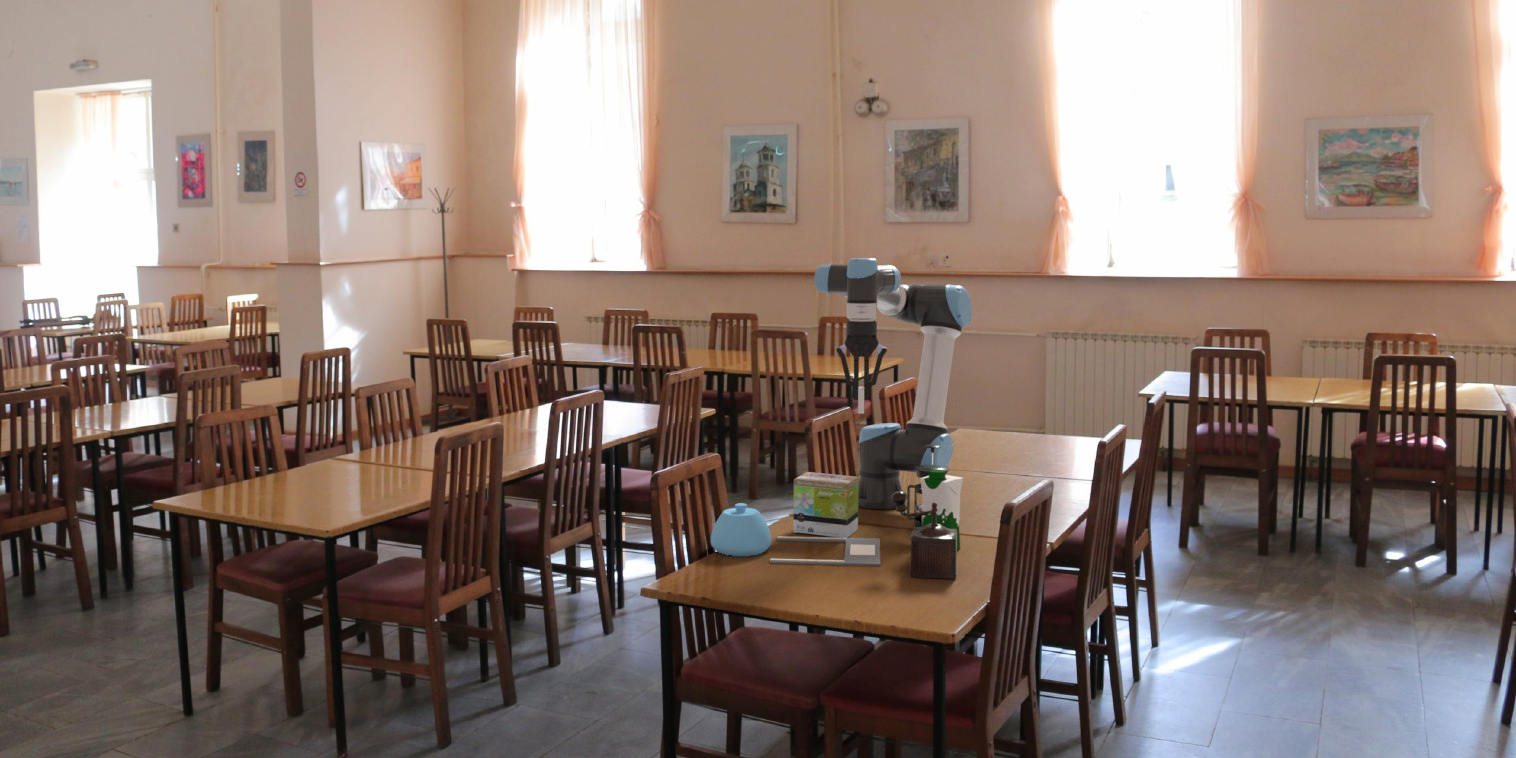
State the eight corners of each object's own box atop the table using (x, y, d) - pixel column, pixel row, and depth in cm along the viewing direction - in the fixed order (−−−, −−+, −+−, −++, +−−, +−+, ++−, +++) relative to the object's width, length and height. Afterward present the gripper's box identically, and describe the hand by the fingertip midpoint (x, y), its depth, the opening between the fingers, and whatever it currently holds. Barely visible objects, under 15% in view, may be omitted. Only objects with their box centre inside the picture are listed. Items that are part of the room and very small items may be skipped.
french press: (955, 528, 307) (957, 443, 304) (947, 537, 298) (949, 449, 295) (912, 524, 311) (913, 440, 308) (902, 533, 302) (904, 446, 299)
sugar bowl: (743, 538, 298) (742, 494, 296) (784, 550, 287) (783, 504, 286) (698, 549, 288) (697, 503, 286) (739, 561, 277) (738, 514, 275)
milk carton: (915, 549, 287) (916, 469, 285) (936, 542, 294) (937, 464, 291) (945, 555, 281) (946, 474, 279) (966, 548, 288) (967, 469, 285)
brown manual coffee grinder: (957, 566, 272) (958, 491, 270) (956, 580, 261) (957, 502, 259) (890, 563, 275) (891, 488, 273) (887, 576, 264) (888, 499, 262)
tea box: (792, 533, 302) (792, 478, 300) (805, 524, 312) (805, 470, 310) (847, 539, 297) (847, 482, 295) (859, 530, 306) (859, 475, 304)
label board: (777, 538, 298) (777, 535, 298) (879, 540, 295) (879, 537, 295) (769, 563, 275) (769, 560, 275) (880, 566, 273) (880, 563, 273)
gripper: (835, 320, 288) (834, 414, 291) (888, 321, 287) (887, 415, 290) (836, 318, 296) (835, 410, 299) (887, 318, 294) (886, 410, 297)
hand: (861, 412), depth 294 cm, fingers closed
